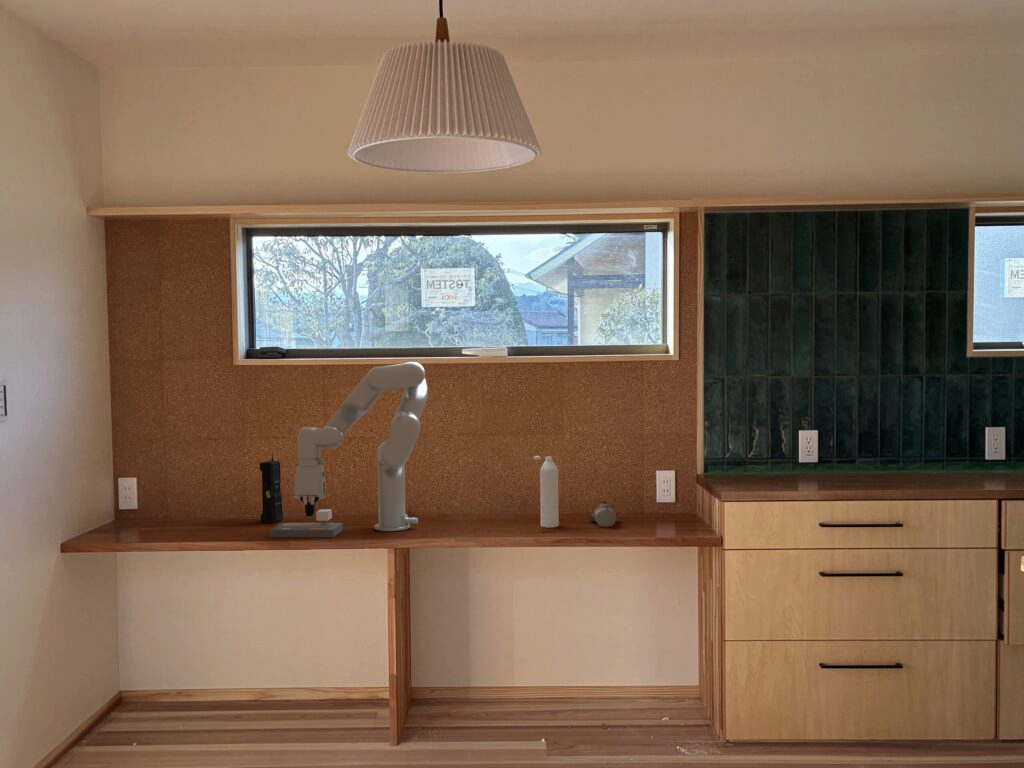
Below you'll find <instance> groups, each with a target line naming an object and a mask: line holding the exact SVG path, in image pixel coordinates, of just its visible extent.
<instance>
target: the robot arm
mask: <svg viewBox="0 0 1024 768" xmlns="http://www.w3.org/2000/svg"><path fill="white" fill-rule="evenodd" d="M425 377H426V371H425V368H424V367H423V365H422V364H421V363H419V362H415V361H408V362H407V361H406V362H404V363H399V364H391V365H384V366H382V365H381V366H374V367H372V368H371V369H369V370H368V371H367V373H366V374H365V375H364V376H363V377H362V379H361V380H360V381H359V383H358V384H357V385H356V386H355V388H354V389H353V390H352V392H351V393H350V394H349V395H348V396H347V397H346V399H345V400H344V401H343V403H342V404H341V405H340V407H339V408H337V410H336V411H335V413H334V414H333V415H332V416H331V418H330V419H329V420H328V421H327V423H325V425H324V426H323V428H322V427H321V428H319V427H316V426H309V427H308V426H305V427H300V428H299V429H298V431H297V455H298V457H297V458H298V461H297V465H298V466H296V469H295V475H294V483H293V492H294V496H293V497H294V499H296V500H300V501H301V502H302V503H303V505H304V513H305V515H306V517H312V516H314V515H315V514H316V512H315V511H316V506H315V505H316V503H317V502H319V501H320V500H323V499H325V498H326V494H325V493H326V492H327V486H326V485H327V484H326V483H327V482H326V475H325V469H324V466H323V464H325V462H326V460H325V459H323V458H322V457H321V448H322V449H323V448H324V449H336V448H339V447H340V446H341V445H342V444H343V441H344V436H345V435H346V433H347V432H348V431H349V429H350V428H351V427H352V426H353V425H354V424H355V423H356V422H357V421H358V420H359V419H361V418H362V417H363V416H364V415H366V414H367V413H368V412H369V410H370V409H371V408H372V406H373V405H375V402H376V401H377V400H378V399H379V397H380V396H381V395H382V394H383V392H384V391H394V390H399V389H403V395H402V397H401V399H400V403H399V404H398V407H397V409H396V411H395V414H394V416H393V418H392V419H391V421H390V432H389V435H388V436H387V439H386V440H384V441H382V442H381V443H380V444H379V446H378V448H377V451H376V462H377V481H378V482H377V489H378V490H377V494H378V497H377V499H378V500H377V501H378V523H376V524H374V527H373V528H374V530H376V531H380V532H397V531H398V532H399V531H405V530H408V529H409V528H410V527H411V524H418V522H419V519H418V517H414V516H413V517H409V516H408V513H406V477H405V476H406V474H405V473H406V471H405V465H406V463H407V462H408V460H409V458H410V456H411V454H412V451H413V450H414V447H415V444H416V442H417V441H418V438H419V435H420V432H421V421H420V418H421V415H422V414H423V410H424V408H425V405H426V403H427V399H428V395H429V387H428V382H427V379H426V378H425ZM309 497H310V498H309Z"/></svg>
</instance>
